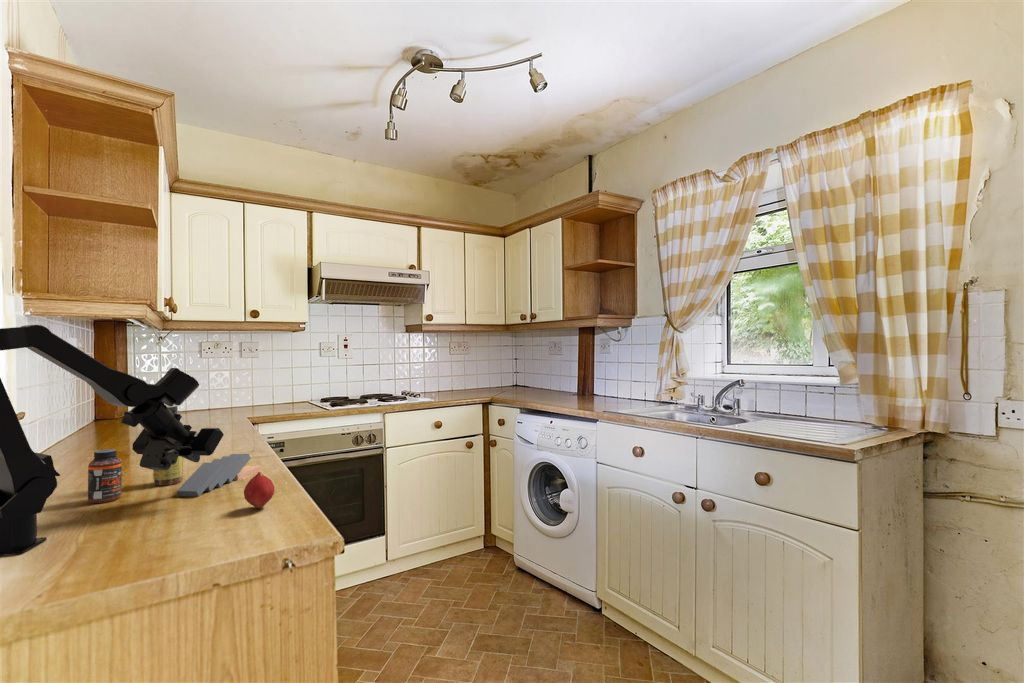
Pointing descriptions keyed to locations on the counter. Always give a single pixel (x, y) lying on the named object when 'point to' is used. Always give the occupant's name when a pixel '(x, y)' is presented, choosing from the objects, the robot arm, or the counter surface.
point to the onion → (259, 490)
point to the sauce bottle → (174, 471)
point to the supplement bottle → (104, 476)
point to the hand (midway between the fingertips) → (197, 460)
